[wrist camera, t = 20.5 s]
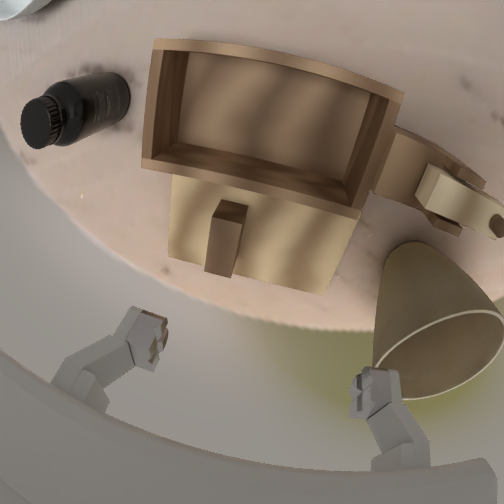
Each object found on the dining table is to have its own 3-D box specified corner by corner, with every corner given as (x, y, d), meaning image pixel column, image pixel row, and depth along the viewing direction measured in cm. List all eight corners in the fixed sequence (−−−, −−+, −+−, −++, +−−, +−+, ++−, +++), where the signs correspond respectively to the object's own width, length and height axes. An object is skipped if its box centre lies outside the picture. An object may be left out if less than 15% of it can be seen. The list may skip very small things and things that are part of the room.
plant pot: (454, 200, 28) (521, 289, 15) (454, 288, 35) (490, 376, 22) (343, 232, 33) (362, 341, 20) (364, 314, 40) (377, 410, 28)
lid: (358, 203, 31) (369, 231, 26) (322, 284, 38) (324, 318, 33) (180, 158, 31) (157, 178, 26) (173, 246, 38) (156, 276, 33)
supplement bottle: (100, 62, 24) (25, 75, 15) (141, 88, 26) (69, 107, 17) (79, 109, 28) (8, 139, 18) (115, 135, 30) (48, 173, 20)
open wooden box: (444, 117, 23) (500, 145, 14) (407, 210, 30) (440, 266, 22) (185, 43, 23) (131, 36, 14) (170, 147, 30) (120, 183, 22)
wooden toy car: (497, 200, 19) (517, 219, 16) (484, 226, 21) (501, 248, 18) (428, 163, 19) (447, 180, 16) (414, 195, 21) (430, 216, 18)
